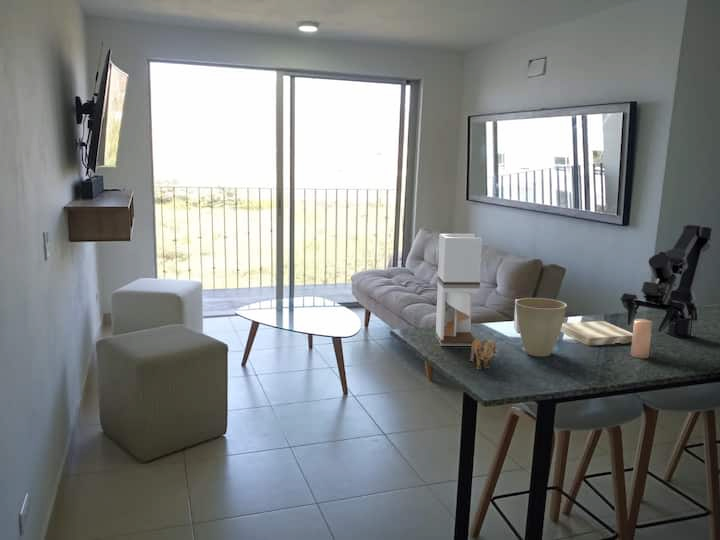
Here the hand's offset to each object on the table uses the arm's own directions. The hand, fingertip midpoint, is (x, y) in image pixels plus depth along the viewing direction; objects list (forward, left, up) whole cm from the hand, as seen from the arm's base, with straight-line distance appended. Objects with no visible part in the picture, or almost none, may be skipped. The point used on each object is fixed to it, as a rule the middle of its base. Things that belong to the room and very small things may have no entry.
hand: (643, 327), depth 178 cm
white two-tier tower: (+52, -22, -9) cm, 57 cm away
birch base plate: (+2, -20, -9) cm, 22 cm away
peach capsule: (+1, 0, -9) cm, 9 cm away
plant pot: (+31, -7, -9) cm, 33 cm away
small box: (+22, -32, -9) cm, 39 cm away
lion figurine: (+53, 0, -9) cm, 54 cm away
